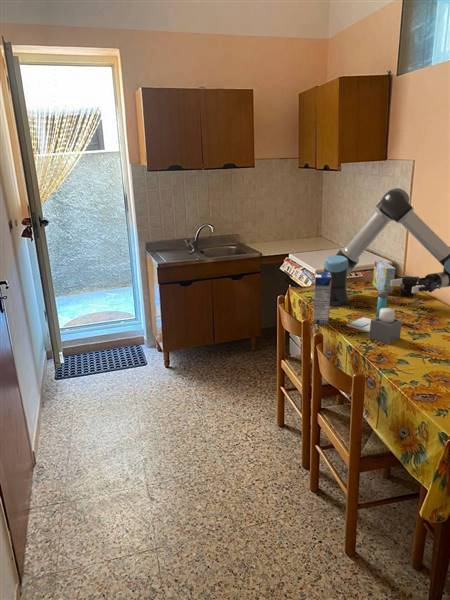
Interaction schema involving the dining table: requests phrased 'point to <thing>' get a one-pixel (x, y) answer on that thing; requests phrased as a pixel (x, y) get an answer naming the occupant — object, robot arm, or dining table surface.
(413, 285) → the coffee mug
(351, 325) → the white sorting board
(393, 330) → the button console
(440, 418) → the dining table surface
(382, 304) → the marker
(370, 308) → the dining table surface
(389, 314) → the button
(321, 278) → the beverage box
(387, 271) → the snack box
